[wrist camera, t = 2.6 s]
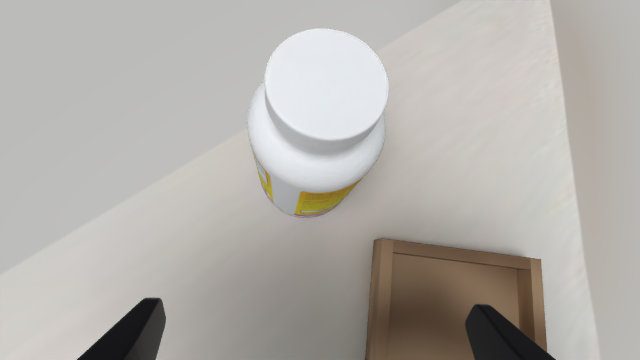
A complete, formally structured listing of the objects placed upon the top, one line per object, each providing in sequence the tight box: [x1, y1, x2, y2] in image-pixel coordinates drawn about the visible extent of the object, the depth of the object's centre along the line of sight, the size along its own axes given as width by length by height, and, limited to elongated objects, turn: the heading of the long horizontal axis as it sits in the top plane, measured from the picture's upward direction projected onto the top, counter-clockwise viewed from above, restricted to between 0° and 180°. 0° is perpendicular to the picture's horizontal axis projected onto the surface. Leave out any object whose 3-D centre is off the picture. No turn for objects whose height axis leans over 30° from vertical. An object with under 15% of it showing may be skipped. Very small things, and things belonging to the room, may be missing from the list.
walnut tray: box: [365, 238, 547, 360], centre depth 21 cm, size 12×12×2 cm
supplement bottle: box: [247, 28, 389, 217], centre depth 18 cm, size 7×7×13 cm
